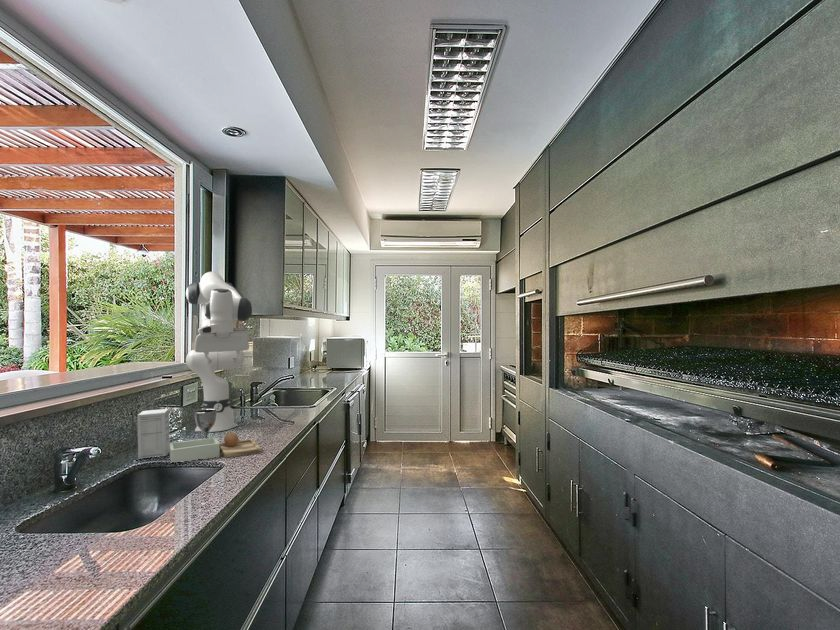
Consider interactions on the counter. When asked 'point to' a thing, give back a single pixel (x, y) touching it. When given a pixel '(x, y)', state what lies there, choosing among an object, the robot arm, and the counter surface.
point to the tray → (240, 448)
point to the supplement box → (153, 433)
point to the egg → (231, 439)
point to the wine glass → (205, 420)
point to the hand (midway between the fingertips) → (222, 362)
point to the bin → (194, 449)
